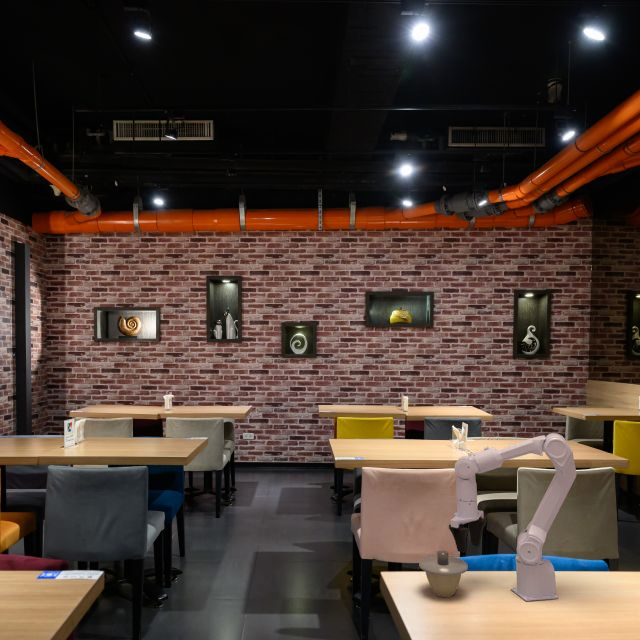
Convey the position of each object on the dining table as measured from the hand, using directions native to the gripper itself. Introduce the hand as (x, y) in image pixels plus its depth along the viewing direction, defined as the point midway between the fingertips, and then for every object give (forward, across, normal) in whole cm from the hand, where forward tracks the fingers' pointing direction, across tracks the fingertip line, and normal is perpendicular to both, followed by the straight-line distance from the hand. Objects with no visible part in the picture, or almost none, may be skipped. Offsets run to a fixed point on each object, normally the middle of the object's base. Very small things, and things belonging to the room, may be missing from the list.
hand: (468, 548), depth 151 cm
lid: (+3, +9, -3) cm, 10 cm away
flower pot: (+11, +9, -3) cm, 14 cm away
